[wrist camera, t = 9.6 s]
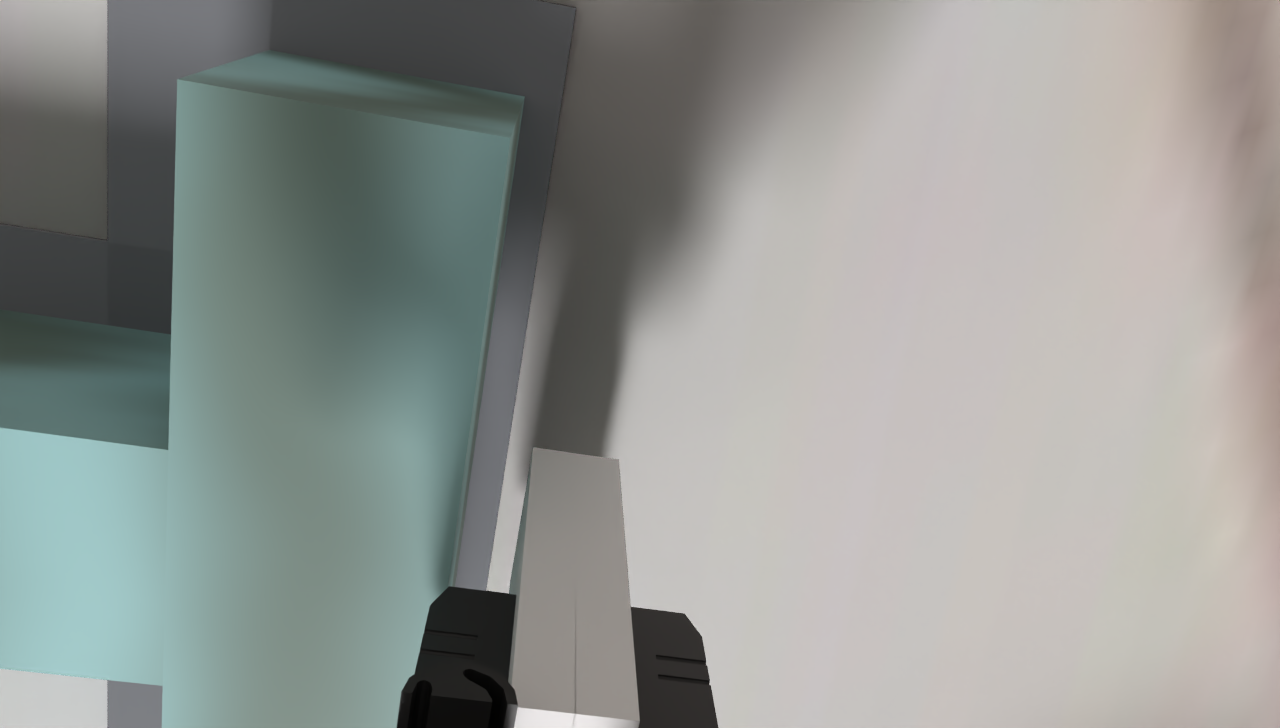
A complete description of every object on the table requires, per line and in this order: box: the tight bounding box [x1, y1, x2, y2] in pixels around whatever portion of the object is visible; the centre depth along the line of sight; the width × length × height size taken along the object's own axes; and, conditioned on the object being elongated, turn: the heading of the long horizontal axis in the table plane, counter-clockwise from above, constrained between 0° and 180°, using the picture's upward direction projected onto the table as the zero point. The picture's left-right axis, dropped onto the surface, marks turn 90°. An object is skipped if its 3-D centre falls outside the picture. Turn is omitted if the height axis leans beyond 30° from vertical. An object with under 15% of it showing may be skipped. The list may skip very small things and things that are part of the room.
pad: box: [0, 0, 576, 728], centre depth 18 cm, size 17×17×1 cm
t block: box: [0, 50, 525, 728], centre depth 16 cm, size 14×14×4 cm
